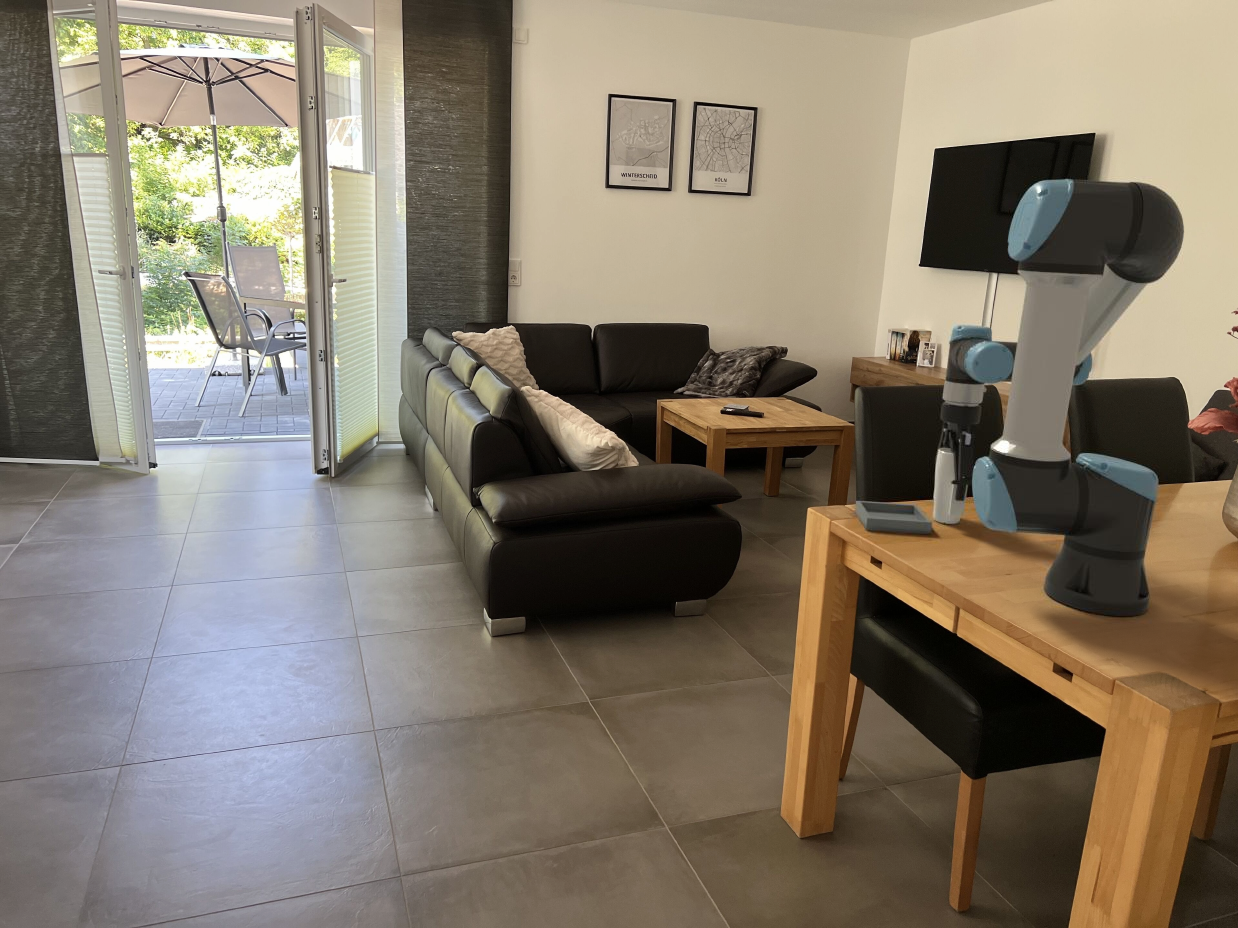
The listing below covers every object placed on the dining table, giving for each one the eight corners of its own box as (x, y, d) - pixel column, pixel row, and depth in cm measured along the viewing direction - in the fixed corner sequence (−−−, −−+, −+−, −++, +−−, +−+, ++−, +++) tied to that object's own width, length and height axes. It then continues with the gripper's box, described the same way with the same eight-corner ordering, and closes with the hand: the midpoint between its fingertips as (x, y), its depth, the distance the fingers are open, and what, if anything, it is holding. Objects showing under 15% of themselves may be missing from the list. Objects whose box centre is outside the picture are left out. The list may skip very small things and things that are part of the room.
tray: (930, 534, 174) (932, 522, 173) (865, 530, 175) (867, 518, 174) (915, 516, 186) (916, 504, 186) (854, 512, 187) (856, 500, 187)
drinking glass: (968, 526, 180) (978, 455, 177) (934, 525, 180) (944, 454, 177) (956, 517, 187) (966, 448, 183) (924, 515, 187) (933, 446, 183)
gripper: (1000, 414, 166) (984, 525, 171) (963, 394, 189) (950, 493, 194) (959, 411, 167) (944, 522, 172) (928, 392, 189) (915, 490, 194)
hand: (947, 507), depth 183 cm, fingers open, 11 cm apart
